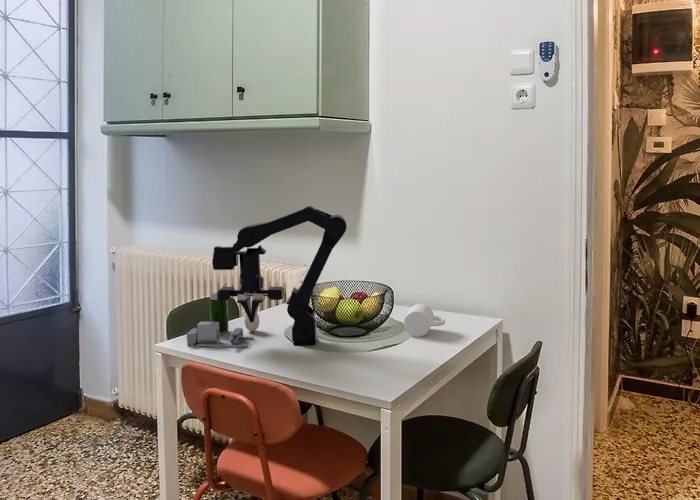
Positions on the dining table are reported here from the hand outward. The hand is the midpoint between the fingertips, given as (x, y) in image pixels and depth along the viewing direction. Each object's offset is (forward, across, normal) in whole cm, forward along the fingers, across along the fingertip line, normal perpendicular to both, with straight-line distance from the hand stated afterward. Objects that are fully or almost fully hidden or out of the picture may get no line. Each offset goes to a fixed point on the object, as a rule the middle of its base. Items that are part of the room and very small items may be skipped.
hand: (252, 322), depth 189 cm
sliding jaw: (+6, +5, +2) cm, 8 cm away
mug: (+7, -51, -11) cm, 53 cm away
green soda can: (+6, +13, -11) cm, 18 cm away
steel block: (+6, +13, 0) cm, 15 cm away
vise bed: (+6, +11, 0) cm, 12 cm away
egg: (+6, +3, -12) cm, 14 cm away
